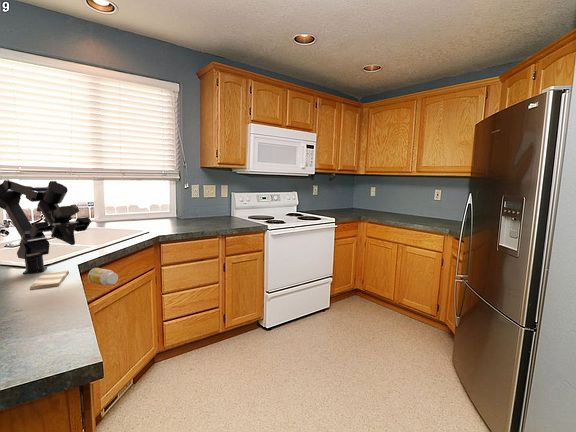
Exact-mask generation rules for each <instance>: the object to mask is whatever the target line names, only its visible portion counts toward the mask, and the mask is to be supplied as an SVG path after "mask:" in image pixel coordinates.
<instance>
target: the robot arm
mask: <svg viewBox="0 0 576 432" xmlns="http://www.w3.org/2000/svg"><path fill="white" fill-rule="evenodd" d="M67 193H68V187H67V186H65V185H64V184H62V183H59V182H58V181H56V180H51V181H49V182H48V185H35V184H32V183H28V182H25V181H22V179H16V178H14V179H10V178H9V179H4V180H3V181H2V183H0V208H1V209H2V210H4V211H5V212H6V214H7V216H8V217H9V219H10V220H11V222H12V224H13V226H14V227H15V230H16V231H17V233H18V234H19V236H20V242H19V247H18V250H17V252H16V254H17V257H18V259H21V260H24V263H25V264H24V265H25V270H24V271H23V272H22V274H23V275H24V274H25V275H26V274H33V273H34V274H35V273H43V272H44V271H46V270H47V268H48V266H45V265H44V256H45V255H49V253H50V242H49V240H48V238H47V237H46V235H45V234H44V233H48V232H50V233H51V235H50V237H51V238H55V239H58V240H61V241H62V242H65V243H66V244H68V245H70V246H74V245H75V244H76V241H75V232H85V231H87V229H88V228H89V226H90V224H91V223H92V221H91V218H89V216H83V217H82V216H81V217H76V219H75V221H71V220H72V219H73V217H72V216H74V215H76V214H78V213H79V212H80V209H79V207H78V205H77V204H70V205H63V206H60V204H61V203H63V201H64V199H65V197H66V195H67ZM23 195H24V196H25V199H27V200H28V201H30V202H32V203H34V202H38V204H37V207H36V212H38V213H39V212H41V214H42V215H43V217H44V221H40V222H34V223H33V224H32V223H31V222H30V220H29V218H28V216H27V215H26V213H25V212H24V210H23V208H22V207H21V205H20V201H21V198H22V196H23Z"/></svg>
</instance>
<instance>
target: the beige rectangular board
mask: <svg viewBox="0 0 576 432" xmlns="http://www.w3.org/2000/svg"><path fill="white" fill-rule="evenodd" d="M69 273H70V271H69V270H64V271H63V270H60V271H52V272H44V273H42V274H41V275H40V276H39V277H38V278H37V279H36V280H34V282H33V283H31V285H30V286H29V290H37V289H45V288H52V287H59V286H60V285H61V284H62V282H63V281H64V280H65V279H66V277H67V276H68V275H69Z"/></svg>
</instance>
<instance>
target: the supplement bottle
mask: <svg viewBox="0 0 576 432" xmlns="http://www.w3.org/2000/svg"><path fill="white" fill-rule="evenodd" d="M87 279H88V281H89V282H90V283H93V284H97V285H101V286H110V285H115V284H116V283H117V282H118V280H119V275H118V274H117V273H116V272H114V271H113V270H112V269H106V268H100V267H93V268H91V270H89V272H88V274H87Z"/></svg>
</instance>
